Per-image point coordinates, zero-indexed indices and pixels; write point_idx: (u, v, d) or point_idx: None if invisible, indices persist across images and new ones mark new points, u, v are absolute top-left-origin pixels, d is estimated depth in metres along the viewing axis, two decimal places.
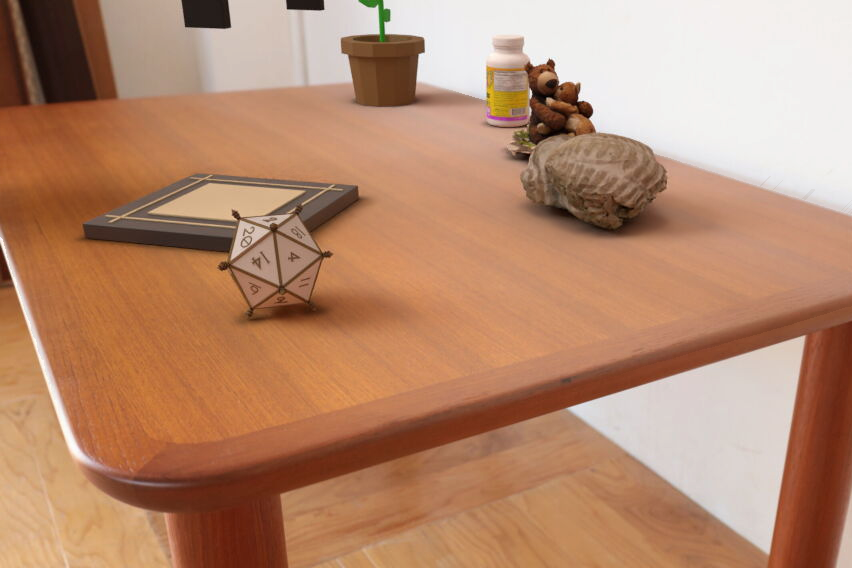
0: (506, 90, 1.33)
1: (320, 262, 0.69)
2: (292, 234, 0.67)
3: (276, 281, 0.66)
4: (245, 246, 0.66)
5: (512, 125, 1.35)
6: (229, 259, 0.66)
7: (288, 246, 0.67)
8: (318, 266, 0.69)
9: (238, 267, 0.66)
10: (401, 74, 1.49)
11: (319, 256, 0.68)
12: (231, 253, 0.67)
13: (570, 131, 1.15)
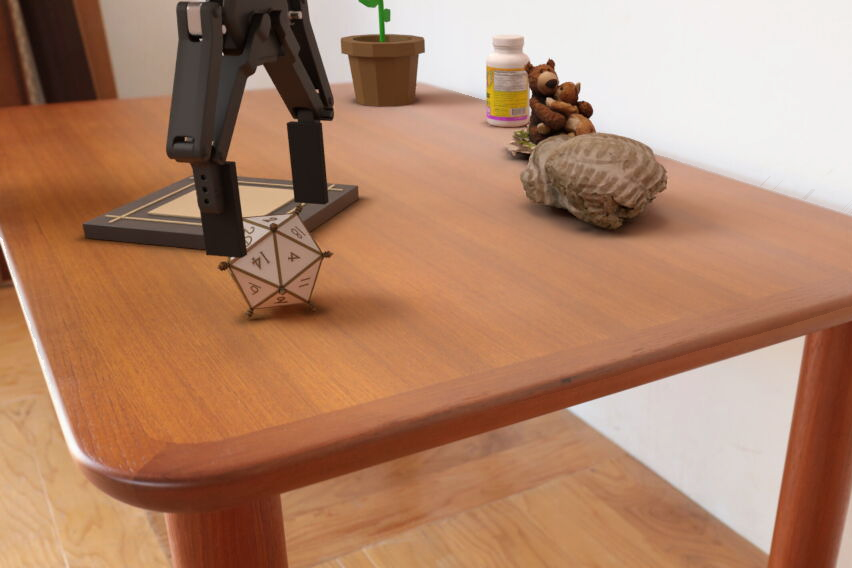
0: (506, 90, 1.33)
1: (320, 262, 0.69)
2: (292, 234, 0.67)
3: (276, 281, 0.66)
4: None
5: (512, 125, 1.35)
6: (229, 259, 0.66)
7: (288, 246, 0.67)
8: (318, 266, 0.69)
9: (238, 267, 0.66)
10: (401, 74, 1.49)
11: (319, 256, 0.68)
12: None
13: (570, 131, 1.15)
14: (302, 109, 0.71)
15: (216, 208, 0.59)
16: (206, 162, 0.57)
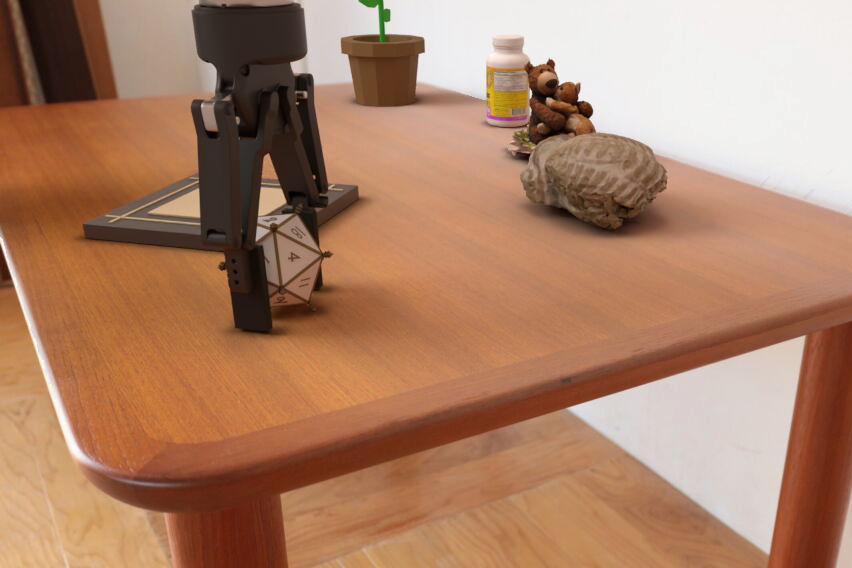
0: (506, 90, 1.33)
1: (320, 262, 0.69)
2: (292, 234, 0.67)
3: (276, 281, 0.66)
4: None
5: (512, 125, 1.35)
6: None
7: (289, 246, 0.67)
8: (318, 266, 0.69)
9: None
10: (401, 74, 1.49)
11: (319, 256, 0.68)
12: None
13: (570, 131, 1.15)
14: (297, 195, 0.72)
15: (245, 288, 0.64)
16: (237, 248, 0.62)
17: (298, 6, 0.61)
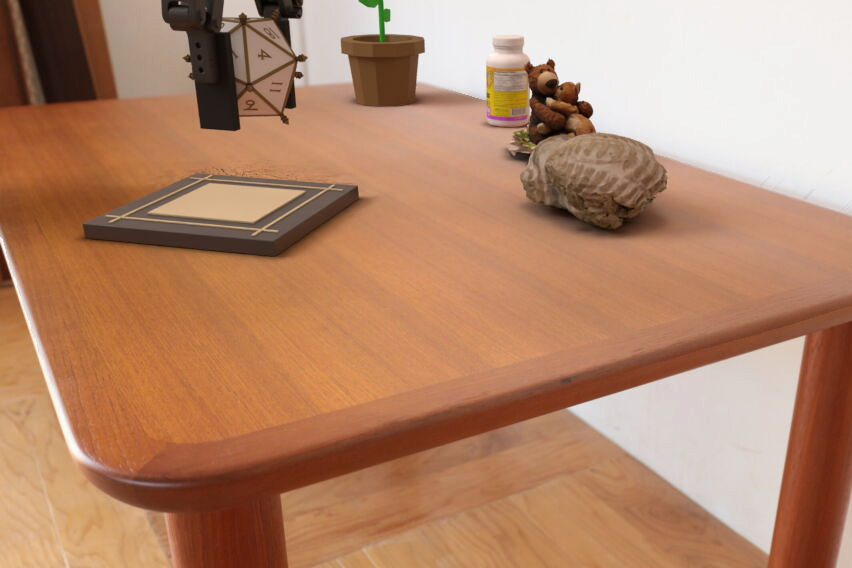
0: (506, 90, 1.33)
1: (294, 67, 0.64)
2: (264, 32, 0.63)
3: (243, 78, 0.62)
4: None
5: (512, 125, 1.35)
6: None
7: (259, 42, 0.63)
8: (291, 71, 0.64)
9: None
10: (401, 74, 1.49)
11: (292, 59, 0.64)
12: None
13: (570, 131, 1.15)
14: (269, 3, 0.68)
15: (210, 77, 0.60)
16: (201, 28, 0.58)
17: None
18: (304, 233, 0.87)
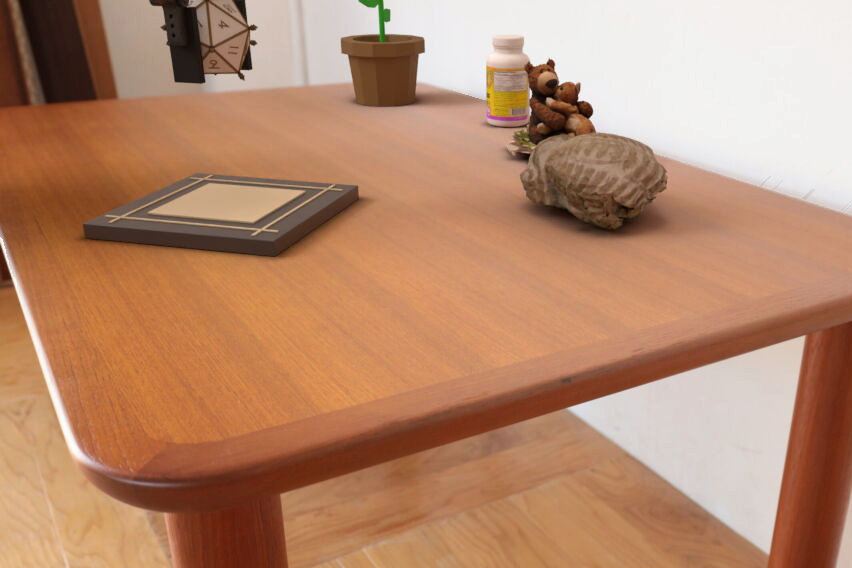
0: (506, 90, 1.33)
1: (247, 35, 0.83)
2: (223, 8, 0.82)
3: (207, 42, 0.81)
4: None
5: (512, 125, 1.35)
6: None
7: (219, 15, 0.81)
8: (245, 38, 0.83)
9: None
10: (401, 74, 1.49)
11: (246, 28, 0.83)
12: None
13: (570, 131, 1.15)
14: None
15: (181, 41, 0.79)
16: (173, 3, 0.77)
17: None
18: (304, 233, 0.87)
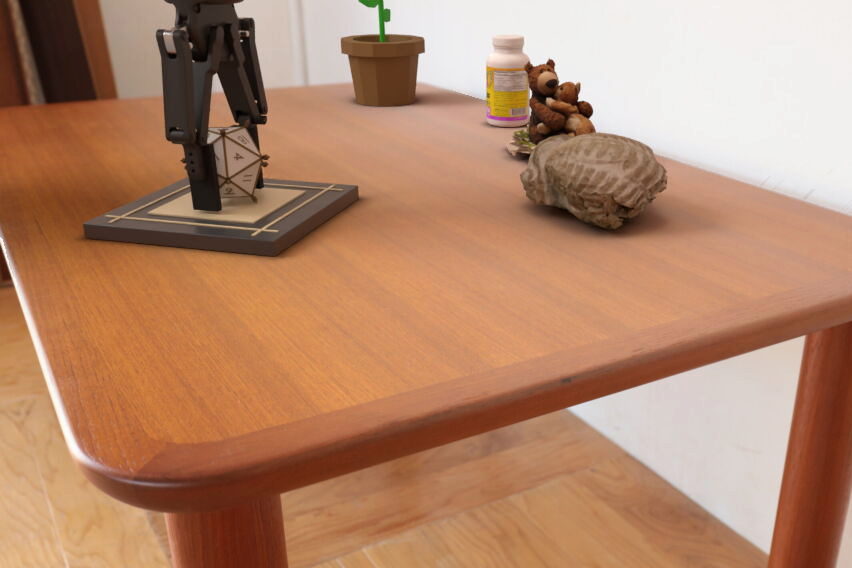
0: (506, 90, 1.33)
1: (260, 163, 0.90)
2: (238, 140, 0.88)
3: (223, 174, 0.87)
4: None
5: (512, 125, 1.35)
6: None
7: (234, 148, 0.88)
8: (258, 166, 0.90)
9: None
10: (401, 74, 1.49)
11: (259, 158, 0.89)
12: None
13: (570, 131, 1.15)
14: (242, 114, 0.93)
15: (200, 176, 0.85)
16: (193, 143, 0.83)
17: None
18: (304, 233, 0.87)
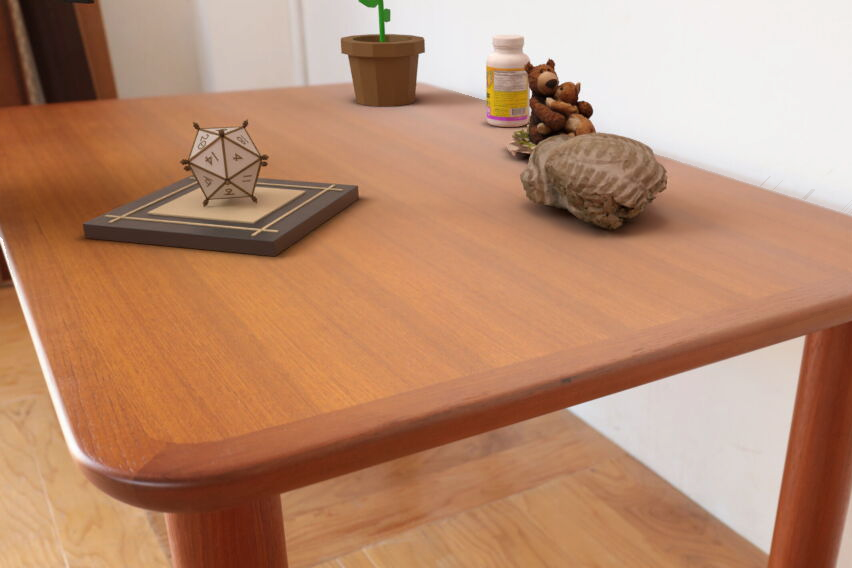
0: (506, 90, 1.33)
1: (259, 163, 0.90)
2: (237, 140, 0.88)
3: (223, 175, 0.87)
4: (200, 148, 0.87)
5: (512, 125, 1.35)
6: (189, 158, 0.88)
7: (234, 148, 0.88)
8: (258, 166, 0.90)
9: (195, 164, 0.87)
10: (401, 74, 1.49)
11: (258, 158, 0.89)
12: (190, 153, 0.88)
13: (570, 131, 1.15)
14: None
15: None
16: None
17: None
18: (304, 233, 0.87)
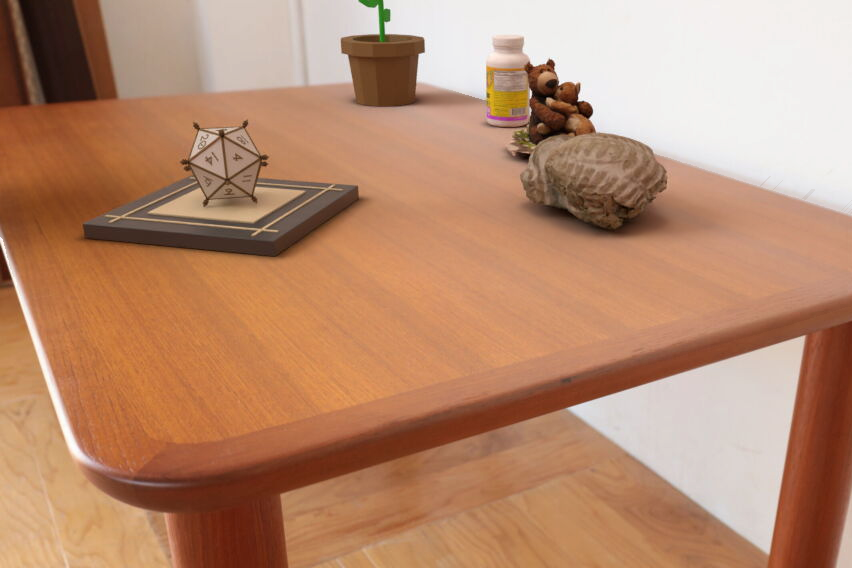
0: (506, 90, 1.33)
1: (259, 163, 0.90)
2: (237, 140, 0.88)
3: (223, 175, 0.87)
4: (200, 148, 0.87)
5: (512, 125, 1.35)
6: (189, 158, 0.88)
7: (234, 148, 0.88)
8: (258, 166, 0.90)
9: (195, 164, 0.87)
10: (401, 74, 1.49)
11: (258, 158, 0.89)
12: (190, 153, 0.88)
13: (570, 131, 1.15)
14: None
15: None
16: None
17: None
18: (304, 233, 0.87)
